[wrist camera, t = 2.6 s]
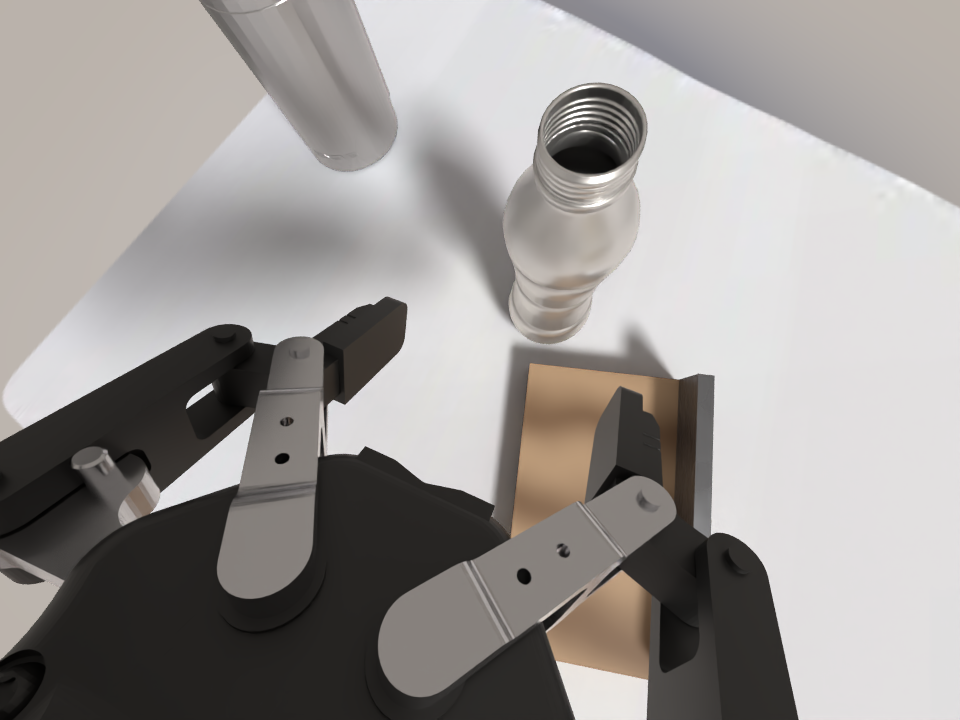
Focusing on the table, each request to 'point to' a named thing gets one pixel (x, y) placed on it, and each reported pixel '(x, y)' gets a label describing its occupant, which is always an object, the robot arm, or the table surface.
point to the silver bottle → (574, 209)
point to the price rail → (695, 451)
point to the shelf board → (563, 480)
